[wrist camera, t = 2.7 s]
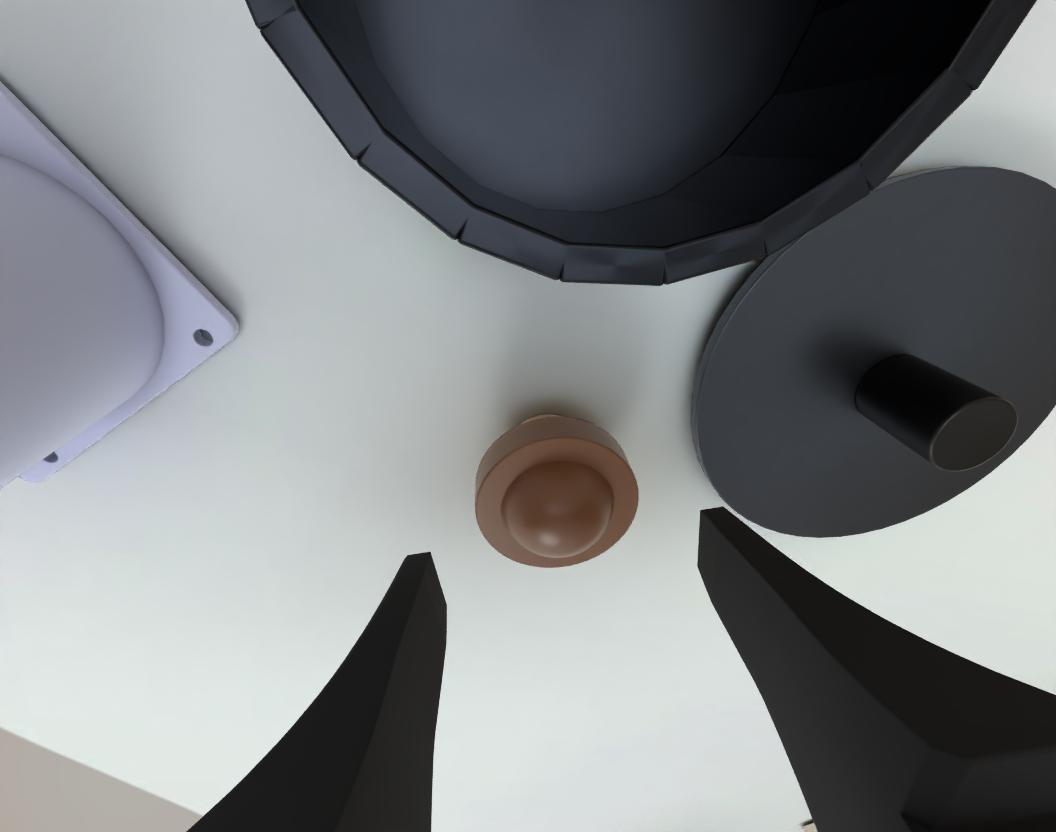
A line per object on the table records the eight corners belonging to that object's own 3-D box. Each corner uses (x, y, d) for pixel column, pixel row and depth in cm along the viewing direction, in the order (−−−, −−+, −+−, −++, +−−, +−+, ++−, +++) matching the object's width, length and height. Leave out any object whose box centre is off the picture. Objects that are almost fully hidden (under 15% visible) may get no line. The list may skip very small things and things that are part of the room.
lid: (756, 566, 22) (814, 654, 18) (619, 326, 16) (662, 382, 12) (1075, 414, 19) (1221, 480, 15) (1051, 59, 13) (1279, 22, 9)
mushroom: (525, 524, 19) (536, 623, 15) (448, 435, 17) (437, 523, 13) (637, 462, 18) (680, 550, 14) (570, 360, 16) (599, 430, 12)
